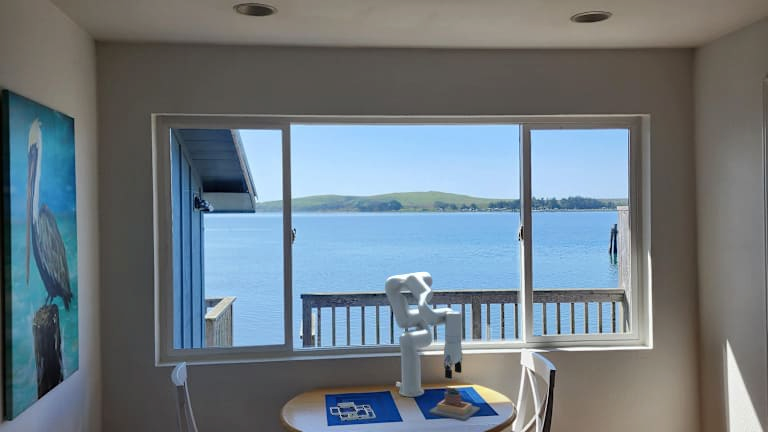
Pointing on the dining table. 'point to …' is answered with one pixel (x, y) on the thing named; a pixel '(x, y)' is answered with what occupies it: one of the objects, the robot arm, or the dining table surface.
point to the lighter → (452, 397)
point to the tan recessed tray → (455, 410)
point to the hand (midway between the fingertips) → (453, 375)
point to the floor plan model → (350, 417)
